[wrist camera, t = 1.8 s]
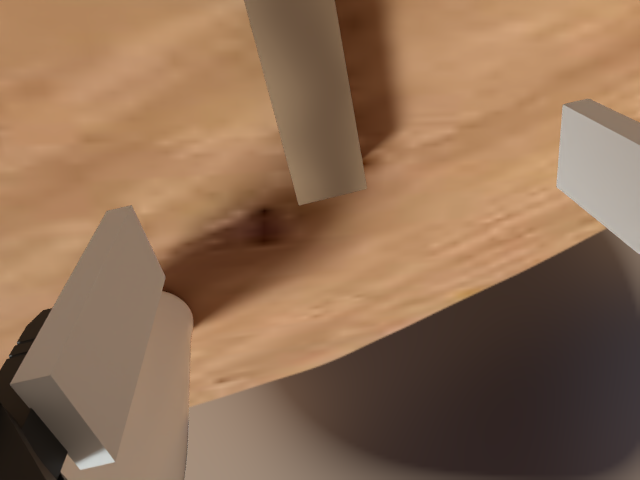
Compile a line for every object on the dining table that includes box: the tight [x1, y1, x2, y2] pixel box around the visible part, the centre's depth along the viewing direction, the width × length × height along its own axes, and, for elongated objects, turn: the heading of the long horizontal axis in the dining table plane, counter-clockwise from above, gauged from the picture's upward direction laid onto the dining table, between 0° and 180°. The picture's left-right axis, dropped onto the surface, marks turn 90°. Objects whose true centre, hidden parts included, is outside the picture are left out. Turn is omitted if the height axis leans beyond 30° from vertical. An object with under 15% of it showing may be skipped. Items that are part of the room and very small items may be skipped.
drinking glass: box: [61, 291, 194, 480], centre depth 28 cm, size 7×7×15 cm
